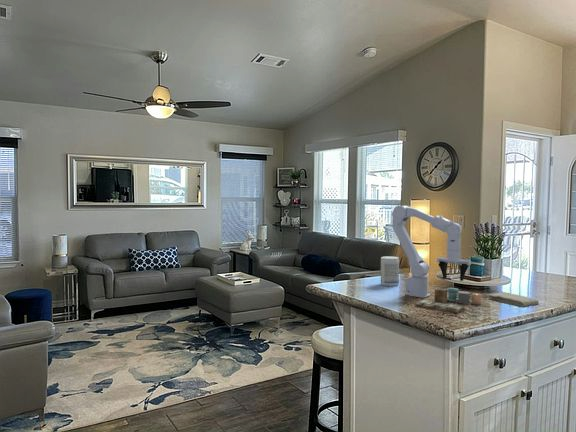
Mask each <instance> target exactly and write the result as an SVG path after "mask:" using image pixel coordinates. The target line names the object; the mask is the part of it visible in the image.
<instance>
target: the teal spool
mask: <svg viewBox="0 0 576 432" xmlns="http://www.w3.org/2000/svg"><path fill="white" fill-rule="evenodd" d="M446 289H447V301H449V302H458V298H457V297H458V296H457V295H458V291H460V290H459V288H455V287H447V288H446Z"/></svg>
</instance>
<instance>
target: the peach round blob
mask: <svg viewBox="0 0 576 432" xmlns="http://www.w3.org/2000/svg"><path fill="white" fill-rule="evenodd" d="M482 296H483V295H482V293H477V292H476V293H475V292H474V293H471V302H470V303H471V304H472V305H473V304H474V305H482Z"/></svg>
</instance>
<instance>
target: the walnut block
mask: <svg viewBox="0 0 576 432" xmlns="http://www.w3.org/2000/svg"><path fill="white" fill-rule="evenodd" d="M447 298H448V290H447V288H441V287H438V288H436V289H434V302H436V303H443V304H448V300H447Z"/></svg>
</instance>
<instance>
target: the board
mask: <svg viewBox="0 0 576 432" xmlns="http://www.w3.org/2000/svg"><path fill="white" fill-rule="evenodd" d="M414 306H415V307H418V306H419V307H420V308H424V307H425V309H430V310H437V311H442V312H447V313H452V314H459V313H461V312H463V311H465V310H466V309H465V308H466V307H465V306H461V305H455V304H448V303H445V304H443V303H436V302H435V301H430V300H424V299H423V300H420V301H417V302H416V303H415V305H414Z"/></svg>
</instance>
